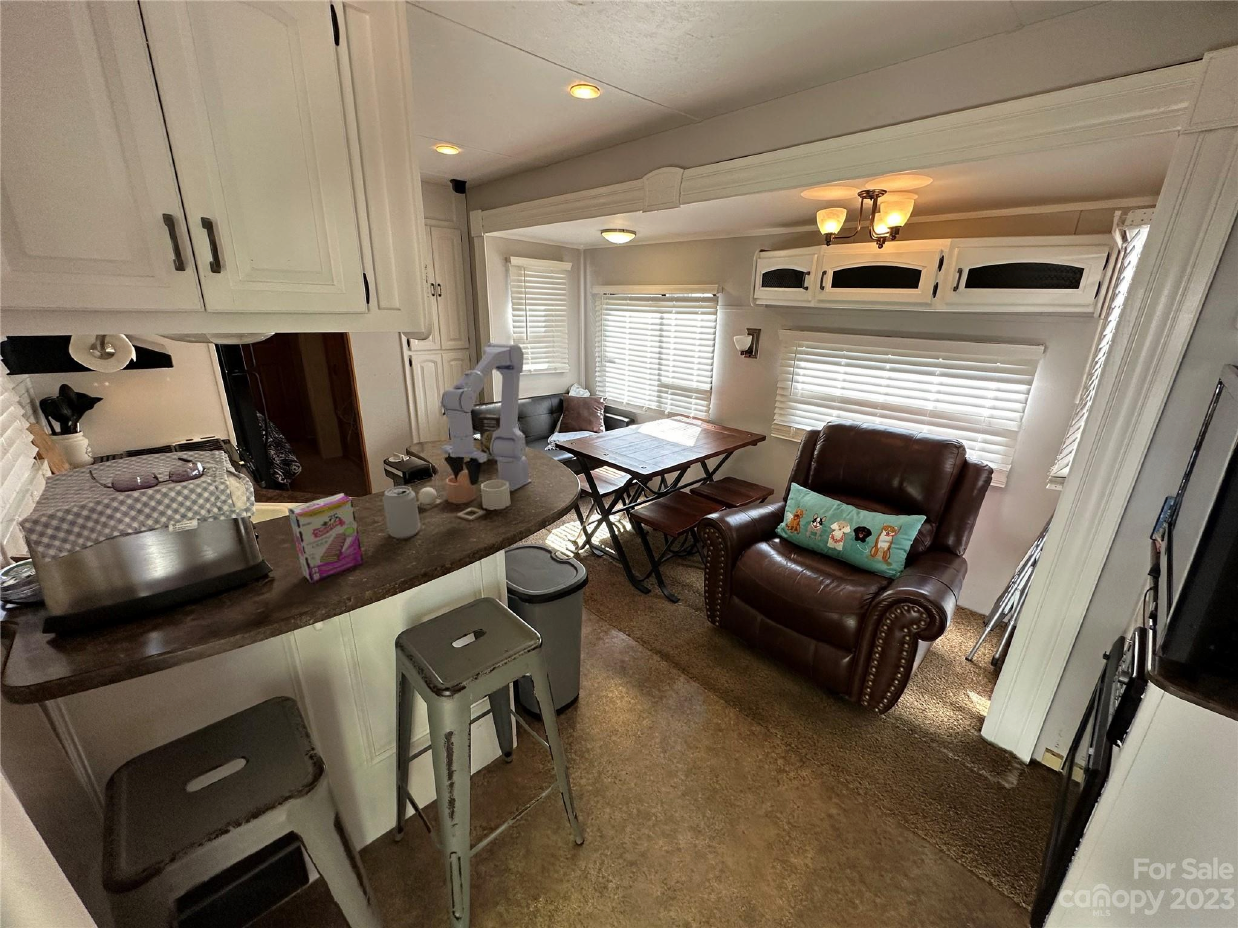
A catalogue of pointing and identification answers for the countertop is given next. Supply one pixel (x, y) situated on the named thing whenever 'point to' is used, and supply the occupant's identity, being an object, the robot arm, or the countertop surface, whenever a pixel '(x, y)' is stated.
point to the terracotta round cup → (458, 491)
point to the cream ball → (427, 496)
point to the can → (401, 512)
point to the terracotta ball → (464, 479)
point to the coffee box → (488, 431)
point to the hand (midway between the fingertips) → (467, 482)
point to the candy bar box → (326, 536)
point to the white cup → (495, 494)
